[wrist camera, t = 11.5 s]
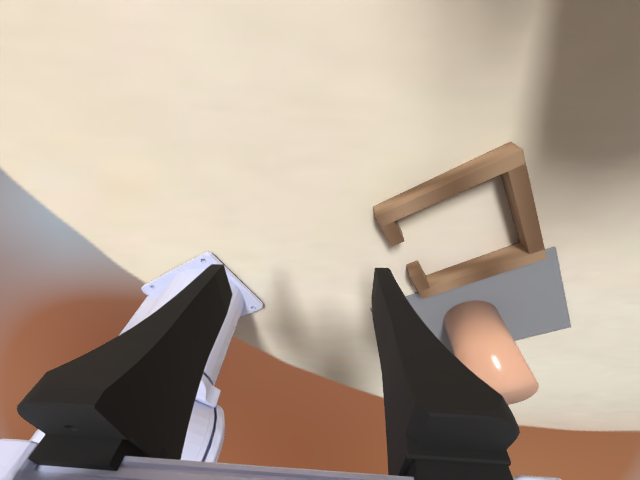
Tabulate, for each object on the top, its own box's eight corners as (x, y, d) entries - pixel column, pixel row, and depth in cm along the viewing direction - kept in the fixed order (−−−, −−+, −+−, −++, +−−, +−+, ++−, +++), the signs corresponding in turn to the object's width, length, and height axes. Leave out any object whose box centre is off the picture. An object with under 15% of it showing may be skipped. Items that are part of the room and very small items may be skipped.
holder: (419, 286, 26) (422, 298, 25) (373, 206, 22) (375, 216, 20) (535, 246, 23) (546, 258, 22) (510, 141, 18) (522, 149, 17)
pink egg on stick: (477, 357, 32) (505, 428, 26) (430, 355, 32) (449, 424, 26) (505, 301, 26) (550, 375, 21) (450, 299, 27) (478, 371, 21)
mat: (411, 364, 34) (412, 365, 33) (370, 308, 28) (370, 310, 28) (569, 325, 28) (571, 326, 28) (554, 246, 23) (555, 248, 23)
